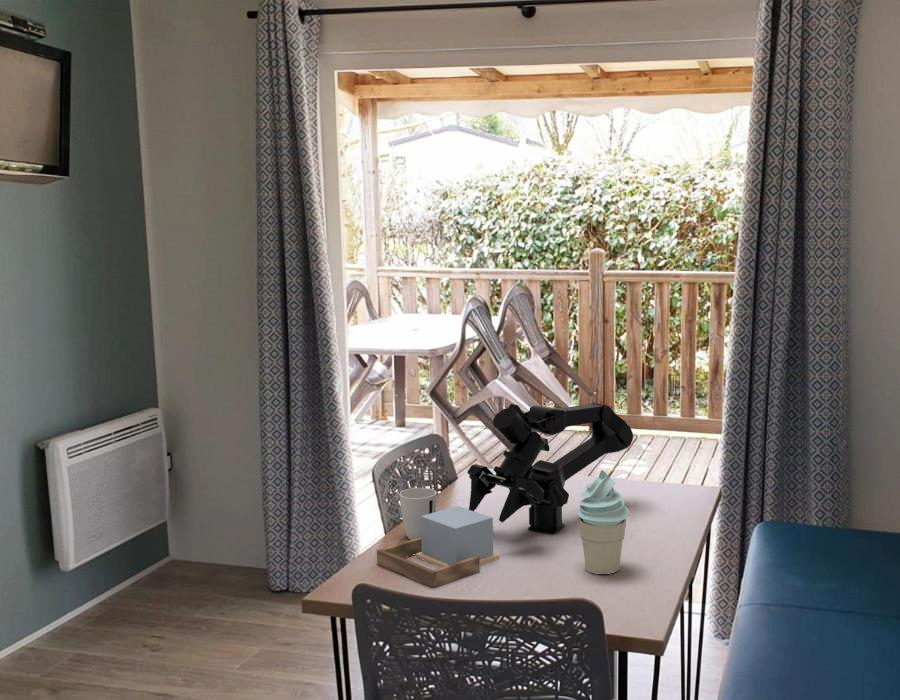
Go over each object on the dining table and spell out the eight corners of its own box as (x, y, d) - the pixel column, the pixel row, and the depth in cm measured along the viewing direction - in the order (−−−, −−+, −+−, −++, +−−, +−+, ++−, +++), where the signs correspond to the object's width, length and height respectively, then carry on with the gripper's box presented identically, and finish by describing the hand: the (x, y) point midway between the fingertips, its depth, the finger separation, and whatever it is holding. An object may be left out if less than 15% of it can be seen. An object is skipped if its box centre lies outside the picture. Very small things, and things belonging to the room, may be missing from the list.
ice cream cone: (581, 580, 192) (581, 479, 189) (574, 559, 203) (574, 464, 200) (634, 579, 192) (634, 478, 189) (623, 558, 203) (624, 463, 200)
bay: (423, 549, 211) (423, 536, 211) (479, 571, 198) (479, 557, 198) (377, 564, 203) (376, 550, 203) (432, 588, 190) (432, 573, 190)
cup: (433, 544, 215) (432, 499, 213) (396, 542, 216) (395, 497, 215) (441, 531, 222) (440, 488, 221) (405, 530, 224) (404, 487, 223)
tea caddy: (459, 544, 214) (458, 504, 213) (499, 559, 205) (498, 517, 204) (415, 558, 207) (414, 516, 206) (454, 574, 197) (453, 530, 196)
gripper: (572, 485, 213) (536, 546, 207) (510, 468, 227) (475, 526, 221) (546, 455, 207) (508, 518, 201) (484, 440, 221) (448, 499, 215)
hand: (485, 516), depth 210 cm, fingers open, 9 cm apart
